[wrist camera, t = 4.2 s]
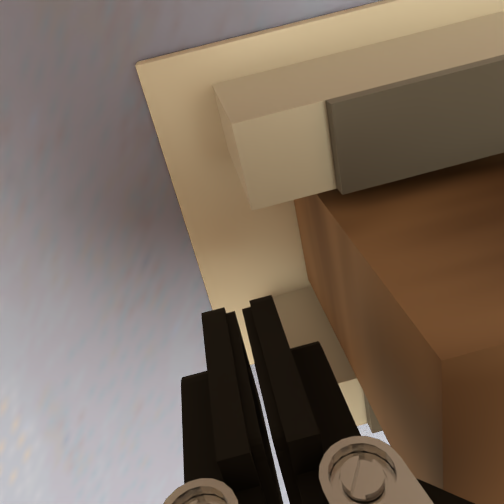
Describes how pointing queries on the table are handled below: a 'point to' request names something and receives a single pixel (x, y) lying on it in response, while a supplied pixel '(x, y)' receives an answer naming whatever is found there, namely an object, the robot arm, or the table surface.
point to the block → (422, 314)
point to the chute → (318, 138)
